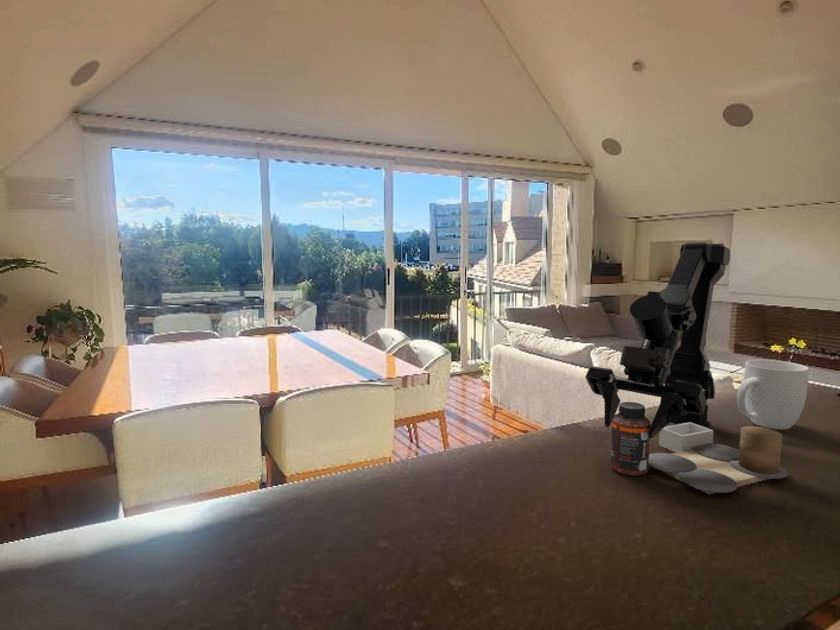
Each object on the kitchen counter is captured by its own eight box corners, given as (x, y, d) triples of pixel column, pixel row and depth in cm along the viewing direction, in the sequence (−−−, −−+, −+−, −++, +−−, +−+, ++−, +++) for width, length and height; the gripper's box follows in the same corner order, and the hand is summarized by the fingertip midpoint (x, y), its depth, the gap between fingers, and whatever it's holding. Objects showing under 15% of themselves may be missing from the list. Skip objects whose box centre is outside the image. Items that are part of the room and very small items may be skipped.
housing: (658, 445, 95) (659, 427, 95) (689, 439, 99) (690, 422, 98) (681, 455, 91) (682, 436, 90) (712, 448, 94) (713, 430, 94)
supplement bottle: (654, 477, 82) (658, 410, 80) (617, 477, 82) (620, 410, 81) (639, 462, 88) (642, 399, 86) (604, 462, 88) (607, 399, 86)
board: (633, 463, 87) (635, 423, 86) (713, 446, 95) (716, 409, 94) (712, 503, 73) (715, 456, 73) (798, 479, 81) (803, 436, 80)
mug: (762, 438, 99) (767, 373, 97) (714, 420, 109) (718, 362, 108) (816, 430, 103) (822, 368, 102) (765, 414, 114) (770, 357, 112)
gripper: (592, 322, 91) (560, 394, 85) (706, 334, 78) (679, 419, 72) (608, 358, 98) (580, 427, 91) (716, 374, 85) (692, 455, 78)
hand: (627, 431), depth 83 cm, fingers open, 7 cm apart
